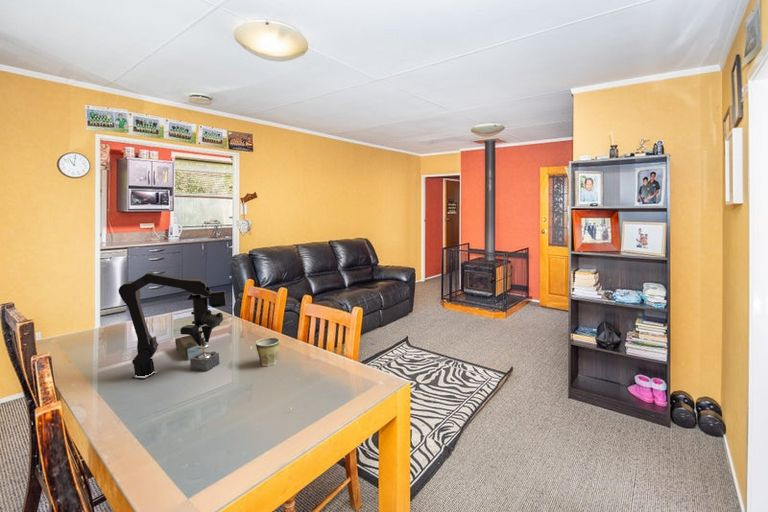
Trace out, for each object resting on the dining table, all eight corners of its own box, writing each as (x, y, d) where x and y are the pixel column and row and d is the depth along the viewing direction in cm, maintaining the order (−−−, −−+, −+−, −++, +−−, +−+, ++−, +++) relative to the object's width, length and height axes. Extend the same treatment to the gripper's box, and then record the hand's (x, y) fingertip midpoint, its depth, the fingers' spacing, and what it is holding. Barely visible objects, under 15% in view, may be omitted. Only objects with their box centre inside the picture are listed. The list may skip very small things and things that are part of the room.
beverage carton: (187, 361, 174) (186, 347, 173) (175, 350, 188) (174, 337, 187) (205, 356, 179) (204, 342, 179) (192, 346, 194) (191, 333, 193)
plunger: (205, 359, 163) (203, 340, 162) (195, 358, 165) (194, 339, 164) (213, 355, 168) (212, 336, 167) (203, 354, 170) (202, 335, 168)
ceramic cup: (273, 368, 164) (272, 346, 162) (252, 367, 166) (251, 344, 164) (287, 356, 176) (286, 335, 175) (267, 355, 178) (266, 334, 177)
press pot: (206, 371, 162) (205, 360, 162) (191, 369, 164) (190, 358, 164) (222, 362, 172) (221, 351, 171) (207, 360, 174) (206, 350, 173)
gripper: (200, 315, 153) (204, 353, 155) (231, 304, 171) (233, 338, 173) (177, 314, 156) (181, 351, 158) (209, 303, 173) (212, 336, 175)
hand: (203, 344), depth 166 cm, fingers open, 4 cm apart
